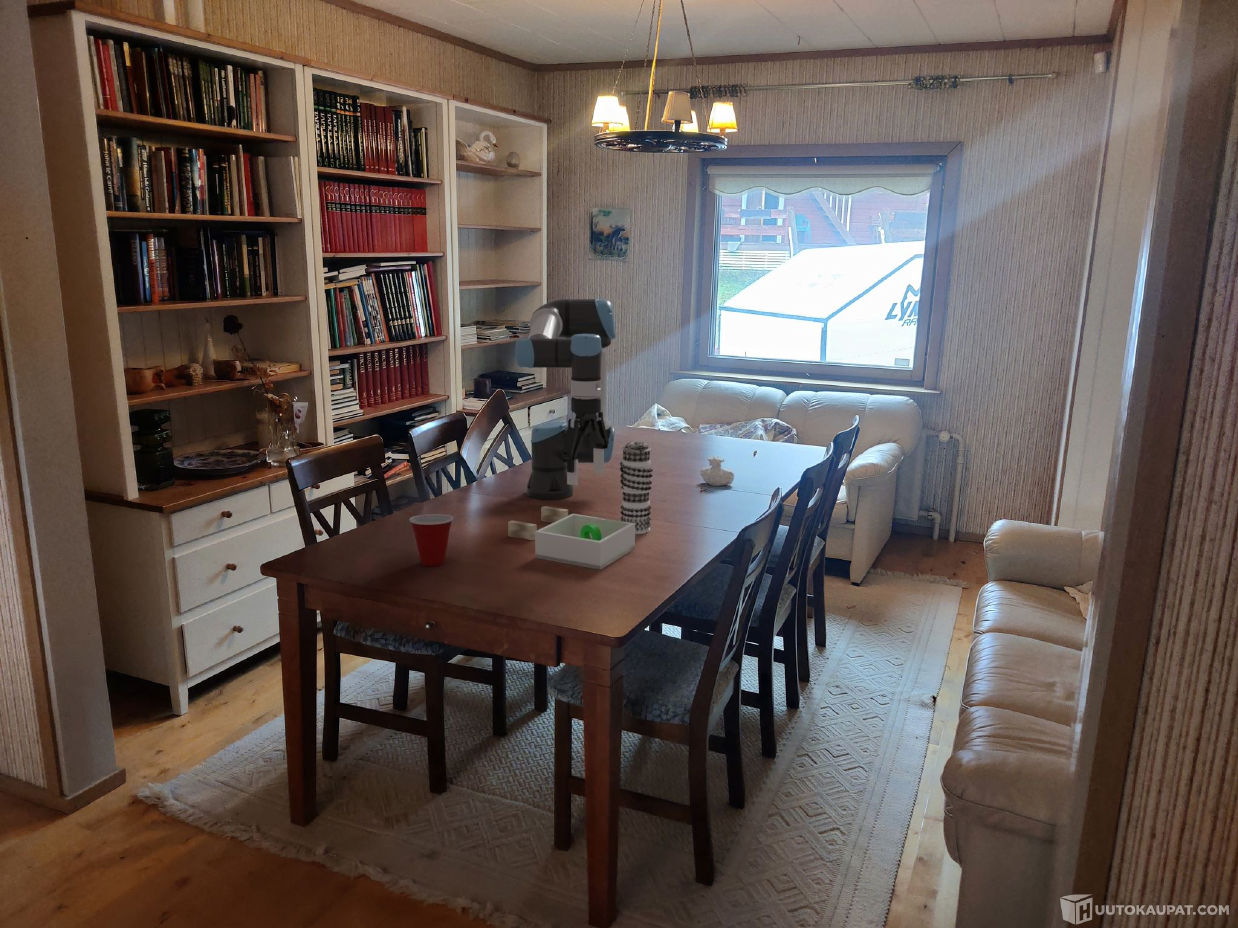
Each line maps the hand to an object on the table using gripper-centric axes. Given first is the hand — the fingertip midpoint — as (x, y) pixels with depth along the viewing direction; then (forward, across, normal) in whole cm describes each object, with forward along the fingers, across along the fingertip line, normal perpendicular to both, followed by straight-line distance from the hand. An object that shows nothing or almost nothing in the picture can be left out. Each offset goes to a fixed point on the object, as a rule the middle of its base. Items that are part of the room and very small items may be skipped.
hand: (585, 478), depth 231 cm
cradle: (+20, +12, +22) cm, 32 cm away
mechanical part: (+19, -1, -1) cm, 19 cm away
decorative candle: (+20, +25, -2) cm, 32 cm away
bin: (+20, 0, 0) cm, 20 cm away
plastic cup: (+20, -25, +30) cm, 44 cm away
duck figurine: (+21, +85, -3) cm, 87 cm away
